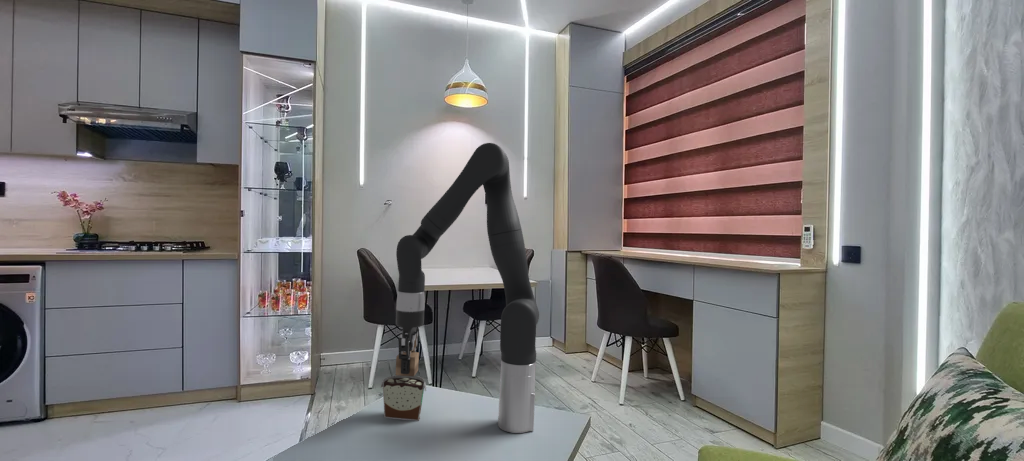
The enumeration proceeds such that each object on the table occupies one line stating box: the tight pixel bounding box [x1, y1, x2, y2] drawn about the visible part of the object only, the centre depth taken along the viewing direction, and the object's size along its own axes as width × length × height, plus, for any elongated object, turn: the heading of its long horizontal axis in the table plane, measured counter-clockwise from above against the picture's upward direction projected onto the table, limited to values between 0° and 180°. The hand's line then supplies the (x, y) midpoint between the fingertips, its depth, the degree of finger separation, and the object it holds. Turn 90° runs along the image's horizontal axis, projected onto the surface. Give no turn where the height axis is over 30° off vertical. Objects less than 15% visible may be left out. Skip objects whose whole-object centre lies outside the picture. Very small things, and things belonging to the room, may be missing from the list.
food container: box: [380, 375, 427, 422], centre depth 122 cm, size 12×6×10 cm, turn 84°
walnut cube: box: [395, 351, 420, 376], centre depth 123 cm, size 5×5×5 cm
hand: (407, 370), depth 123 cm, fingers closed on walnut cube, 5 cm apart
